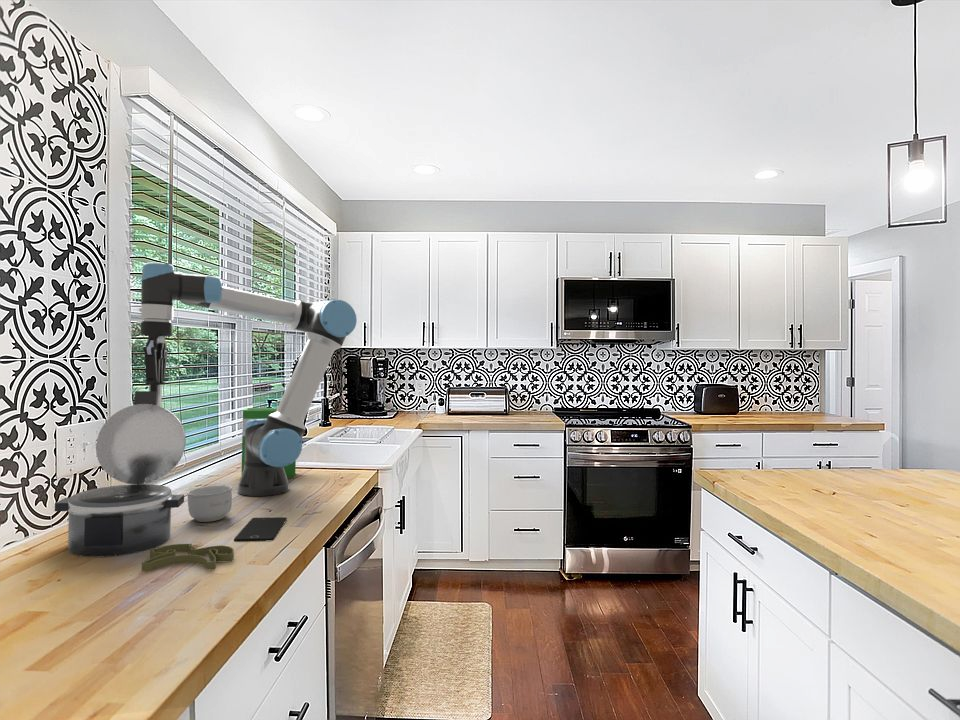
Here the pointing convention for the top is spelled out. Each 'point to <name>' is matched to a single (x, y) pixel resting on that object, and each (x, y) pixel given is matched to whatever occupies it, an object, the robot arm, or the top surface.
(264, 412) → the hardback book
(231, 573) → the top surface
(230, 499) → the teacup
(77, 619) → the top surface
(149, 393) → the lid
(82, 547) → the cooker
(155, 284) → the robot arm
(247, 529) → the cell phone
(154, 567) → the cookie cutter
